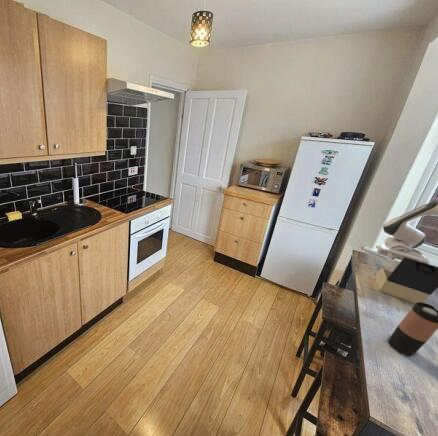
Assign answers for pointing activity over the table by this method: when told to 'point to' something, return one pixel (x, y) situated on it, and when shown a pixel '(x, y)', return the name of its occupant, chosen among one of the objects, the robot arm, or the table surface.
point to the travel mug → (415, 329)
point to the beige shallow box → (398, 288)
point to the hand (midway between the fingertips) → (404, 261)
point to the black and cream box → (415, 275)
